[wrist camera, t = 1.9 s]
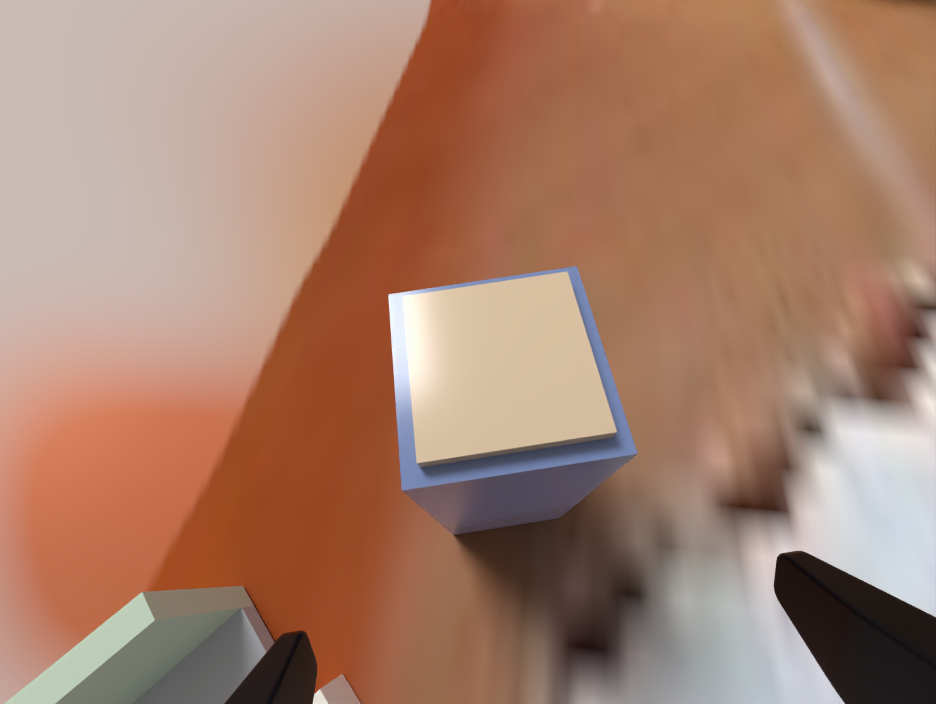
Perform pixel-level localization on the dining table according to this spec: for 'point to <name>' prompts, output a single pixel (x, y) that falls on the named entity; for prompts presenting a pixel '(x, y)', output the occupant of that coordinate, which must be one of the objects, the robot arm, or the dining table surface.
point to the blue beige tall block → (503, 400)
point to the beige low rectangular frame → (336, 693)
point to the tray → (160, 652)
